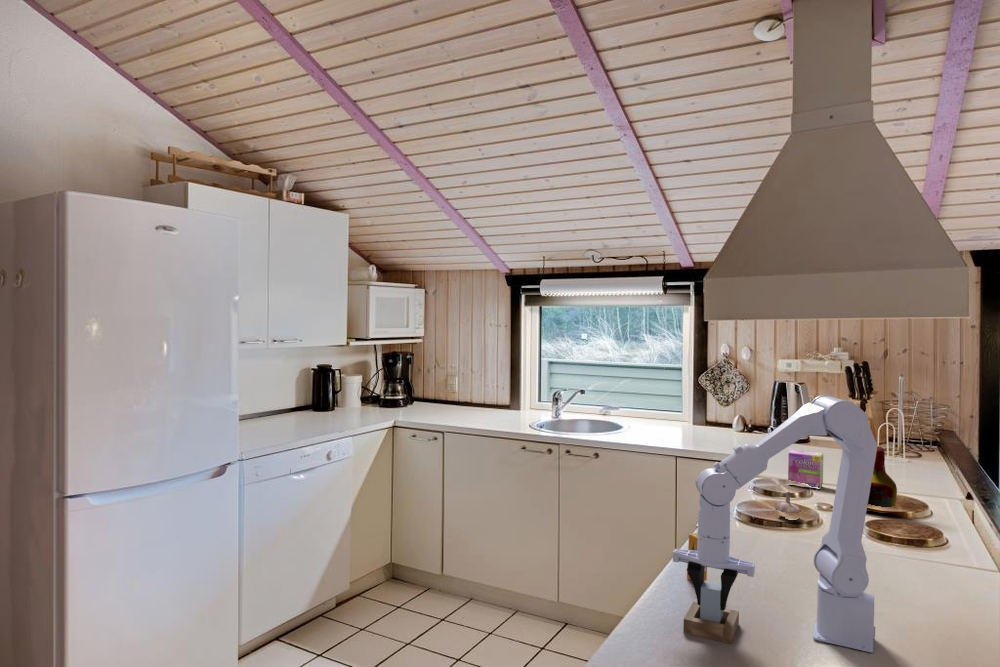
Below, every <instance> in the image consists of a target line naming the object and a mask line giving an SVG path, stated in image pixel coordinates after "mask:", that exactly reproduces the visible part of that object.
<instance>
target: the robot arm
mask: <svg viewBox="0 0 1000 667" xmlns="http://www.w3.org/2000/svg"><path fill="white" fill-rule="evenodd" d="M828 434H829V435H830V436H831V437H832V438H833V440H834V441H835V442H836V443H837V445H839V447H840V448H841V449H842V452H841V459H840V464H839V470H838V476H837V482H836V487H835V488H836V489H835V493H834V494H835V495H834V498H833V499H834V500H833V508H832V512H831V518H830V524H829V530H828V532H827V533H825V534H824V535H823V536H822V539H821V543H820V545H819V547H818V548H817V550H816V551H815V553H814V555H813V566H814V568H815V569H816V571H817V572H818V573H819V577H818V580H817V597H816V598H817V599H816V600H817V601H816V619H815V620H814V625H813V626H814V627H813V632H812V633H813V635H812V639H813V640H815V641H819V642H823V643H828V644H833V645H837V646H841V647H845V648H850V649H855V650H859V651H863V652H868V653H874V638H876V626H875V595H874V594H871V593H868V592H865V591H866V589H867V588H868V585H869V582H870V581H869V580H870V577H869V573H868V571H867V566H866V564H867V555H866V552H865V549H864V546H863V543H862V539H863V534H864V527H865V521H866V517H867V512H868V511H867V505H868V499H869V493H870V487H871V481H872V475H873V469H874V463H875V457H876V452H877V446H878V445H877V444H878V443H877V441H876V439H875V435H874V434H873V431H872V429H871V426H870V424H869V415H868V414H867V413H866V412H865V411H864V410H863V409H862V408H861V407H859V406H858V404H856V403H855V402H853V401H849V400H844V399H841V398H837V397H835V396H834V395H831V394H822V395H818V396H816V397H814V398H813V399H812V400H811V402H808V403H805V404H803V405H802V406H801V407H800V408H799V409H798V410H797V411H796V412H795V413H793V414H792V415H791V416H789V418H787V419H786V420H785V421H784V422H782V423H781V424H780V425H778V426H777V427H776V428H775V429H773V430H772V431H771V432H770V433H769V434H767V435H766V436H765V437H764V438H763V439H761V440H760V441H758V442H757V443H755V444H749V443H745V444H743V445H742V446H741V445H740V444H737V445H736V446H734V447H733V448H732V449H733V450H734V451H733V452H732V453H731V454H729V455H728V456H727V457H725V458H724V459H722V460H721V461H720V462H718V461H715V462H714V463H713V464H712V466H713V467H711V468H710V467H708V468H706V469H704V470H702V471H701V472H700V473H699V474H698V477H697V480H695V486H696V489H697V491H698V492H699V493H700V494H699V497H698V498H699V499H698V509H697V510H698V511H697V533H698V545H697V551H693V550H688V549H679V548H675V549H674V550H673V551H672V562H673V563H680V562H681V563H685V564H687V565H688V568H686V574H687V573H688V575H689V577H690V579H691V580H690V582H691V583H692V586H693V588H694V591H695V596H696V602H697V603H698V605H700V603H701V586H702V584H703V582H704V569H705V567H707V568H710V569H711V568H712V569H716V570H722V572H721V574H720V584H721V603H720V608H721V610H723V611H724V610H725V608H726V609H727V603H728V597H729V595H730V591H731V590H732V589H731V588H732V587H733V584H735V581H736V579H737V577H738V574H743V575H746V576H747V577H751V578H754V576H755V574H756V569H755V568H756V563H755V562H750V561H747V560H743V559H740V558H736V557H734V556H730V546H731V544H730V543H731V541H730V540H731V502H732V501H733V500H734V498H735V496H736V491H737V490H740V489H741V488H742V487H743V486H745V485H746V484H748V483H749V482H751V481H752V480H754V479H755V478H756V477H757V476H759V475H760V474H762V473H763V472H765V471H766V470H767V468H768V463H769V460H770V459H772V458H773V457H774V456H776V455H778V454H779V453H781V452H782V451H784V450H785V449H787V448H789V447H790V446H792V445H793V444H795V443H796V442H798V441H799V440H801V439H803V438H804V437H806V436H828Z"/></svg>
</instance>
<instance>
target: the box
mask: <svg viewBox="0 0 1000 667" xmlns="http://www.w3.org/2000/svg"><path fill="white" fill-rule="evenodd" d="M787 456H788V457H787V458H788V459H787V460H788V464H787V466H788V467H787V481H788V480H791V481H796V482H800V483H805V484H808V485H809V486H811V487H818V488H821V486H822V484H823V485H824V453H821V452H813V451H804V450H803V451H802V450H796V449H795V450H793V449H791V450H789V451H788V455H787ZM821 489H822V488H821Z"/></svg>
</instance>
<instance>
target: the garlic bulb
mask: <svg viewBox="0 0 1000 667" xmlns="http://www.w3.org/2000/svg"><path fill="white" fill-rule="evenodd" d="M775 509H776V510H779V511H781V512H786V513H799V512H801V511H802V509H801V508H799V506H797V505H795V504H793V503H791V491H787V492H786V493H785V501H781V502H779V503H777V504H776V505H775V507H774V510H775Z"/></svg>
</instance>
